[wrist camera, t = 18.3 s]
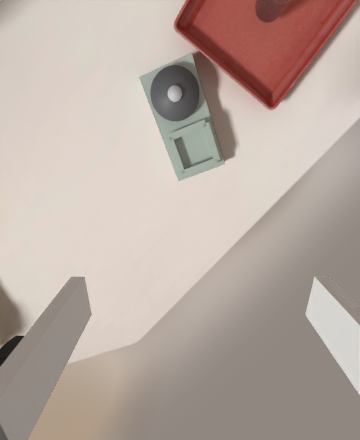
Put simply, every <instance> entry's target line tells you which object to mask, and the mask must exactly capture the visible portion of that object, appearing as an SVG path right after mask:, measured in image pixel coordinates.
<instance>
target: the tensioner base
mask: <svg viewBox="0 0 360 440" xmlns="http://www.w3.org/2000/svg"><path fill="white" fill-rule="evenodd" d="M139 78H140V80H141V83H142V86H143V88H144V91H145V94H146V96H147V99H148V102H149V104H150V107H151V110H152V112H153V115H154V117H155V120H156V123H157V125H158V128H159V131H160V133H161V136H162V139H163V141H164V144H165V146H166V149H167V152H168V154H169V157H170V160H171V162H172V165H173V168H174V170H175V173H176V176H177V178H178V181H180V180H183V179H186V178H188V177H191V176H194V175H197V174H199V173H202V172H205V171H207V170H210V169H213V168H215V167H218V166H221V165H223V164H225V163H224V160H223V156H222V153H221V150H220V146H219V143H218V140H217V136H216V133H215V130H214V126H213V123H212V120H211V116H210V113H209V110H208V106H207V103H206V100H205V96H204V93H203V89H202V86H201V83H200V79H199V76H198V73H197V69H196V66H195V63H194V59H193V56H192V54H190V55H187V56H185V57H183V58H181V59H179V60H176V61H174V62H172V63H170V64H167V65H165V66H163V67H161V68H159V69H156V70H154V71H152V72H150V73H148V74H145V75H143V76H141V77H139Z"/></svg>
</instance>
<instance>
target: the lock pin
mask: <svg viewBox="0 0 360 440" xmlns="http://www.w3.org/2000/svg"><path fill="white" fill-rule="evenodd" d="M291 1H292V0H256V3H255V11H256V15H257V17H258V18H259V19H260V20H261V21H263V22H266V23H269V22H273V21H274V20H276V19H277V18H278V17H279V16H280V14H281V13H282V12H283V11H284V9H285V8H286V7H287V6H288V5H289V3H290V2H291Z"/></svg>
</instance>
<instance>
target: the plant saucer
mask: <svg viewBox="0 0 360 440" xmlns="http://www.w3.org/2000/svg"><path fill="white" fill-rule="evenodd" d="M357 1H358V0H292V1H291V2H290V3H289V5H288V6H287V7H286V8H285V9H284V11H283V12H282V13H281V14H280V16H279V17H278V18H277V19H276V20H274V21H273V22H269V23H266V22H263V21H261V20H260V19H259V18H258V17H257V15H256V11H255V3H256V0H186V1H185V3H184V5H183V7H182V9H181V10H180V12H179V14H178V16H177V18H176V20H175V22H174V28H175V31H176V32H177V33H178V34H180V35H181V36H182V37H183V38H184V39H186V40H187V41H188V42H189V43H190V44H192V45H193V46H194V47H195V48H196V49H198V50H199V51H200V52H201V53H202V54H203V55H205V56H206V57H207V58H208V59H209V60H211V61H212V62H213V63H214V64H215V65H216V66H218V67H219V68H220V69H221V70H222V71H224V72H225V73H226V74H227V75H228V76H230V77H231V78H232V79H233V80H234V81H236V82H237V83H238V84H239V85H240V86H241V87H243V88H244V89H245V90H246V91H247V92H249V93H250V94H251V95H252V96H253V97H254V98H256V99H257V100H258V101H259V102H260V103H261V104H263V105H264V106H265V107H266V108H267V109H269V110H273V109H275V108H276V107H277V106H278V105H279V103H280V102H281V101H282V99H283V98H284V97H285V96H286V94H287V93H288V92H289V90H290V89H291V88H292V86H293V85H294V84H295V83H296V81H297V80H298V79H299V77H300V76H301V75H302V73H303V72H304V71H305V70H306V68H307V67H308V66H309V65H310V63H311V62H312V60H313V59H314V58H315V56H316V55H317V54H318V52H319V51H320V50H321V49H322V47H323V46H324V45H325V43H326V42H327V41H328V40H329V38H330V37H331V35H332V34H333V33H334V31H335V30H336V29H337V28H338V26H339V25H340V24H341V22H342V21H343V20H344V18H345V17H346V16H347V15H348V13H349V12H350V11H351V9H352V8H353V7H354V5H355V4H356V3H357Z"/></svg>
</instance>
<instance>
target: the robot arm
mask: <svg viewBox="0 0 360 440" xmlns="http://www.w3.org/2000/svg"><path fill="white" fill-rule="evenodd" d="M91 315H92V314H91V309H90V304H89V298H88V293H87V288H86V283H85V277H71V278H70V279H69V280H68V282H67V283H66V284H65V285H64V287H63V288H62V289H61V290H60V292H59V293H58V294H57V296H56V297H55V298H54V299H53V301H52V302H51V303H50V304H49V306H48V307H47V308H46V309H45V311H44V312H43V313H42V315H41V316H40V317H39V318H38V320H37V321H36V322H35V323H34V325H33V326H32V327H31V329H30V330H29V331H28V332H27V334H26V335H25V336H15V337H14V338H13V339H11V340H10V341H9V342H7V343H6V344H5V345H3V346H2V347H1V349H0V440H28V438H29V436H30V434H31V432H32V430H33V428H34V426H35V425H36V423H37V421H38V419H39V417H40V415H41V413H42V411H43V409H44V407H45V405H46V403H47V401H48V399H49V397H50V395H51V393H52V391H53V389H54V387H55V385H56V383H57V381H58V379H59V377H60V375H61V374H62V371H63V370H64V368H65V366H66V364H67V362H68V360H69V358H70V356H71V354H72V352H73V350H74V348H75V346H76V344H77V342H78V340H79V338H80V336H81V334H82V332H83V330H84V328H85V326H86V324H87V323H88V321H89V319H90V317H91ZM306 316H307V318H308V319H309V321H310V322H311V324H312V325H313V327H314V328H315V329H316V331H317V332H318V334H319V336H320V337H321V338H322V340H323V341H324V343H325V344H326V346H327V347H328V349H329V350H330V352H331V353H332V355H333V356H334V357H335V359H336V361H337V362H338V363H339V365H340V366H341V368H342V369H343V371H344V372H345V374H346V375H347V377H348V378H349V380H350V381H351V383H352V384H353V386H354V387H355V389H356V390H357V391H358V393H359V394H360V307H359V306H358V305H357V304H355V302H354V301H352V299H351V298H350V297H349V296H348V295H346V293H345V292H343V291H342V290H341V289H340V288H339V287H338V286H337V285H336V284H335V283H334V282H333V281H332V280H331V279H330V278H329V277H314V282H313V286H312V290H311V294H310V299H309V303H308V307H307V311H306Z"/></svg>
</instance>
